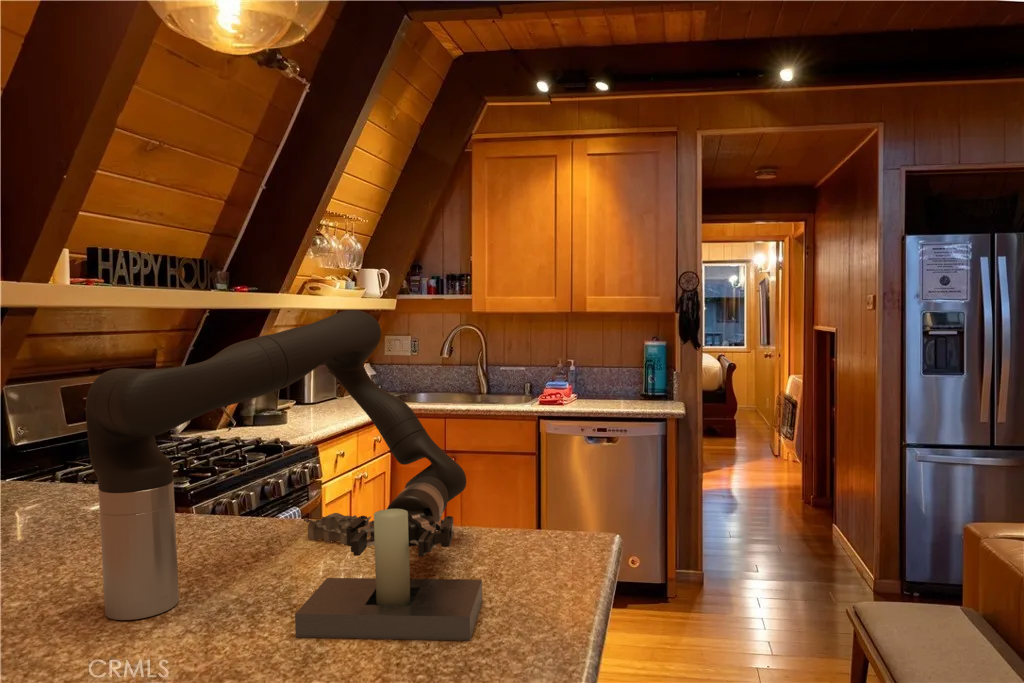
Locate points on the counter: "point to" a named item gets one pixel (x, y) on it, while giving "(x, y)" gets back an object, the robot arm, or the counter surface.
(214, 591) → the counter surface
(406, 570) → the peg
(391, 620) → the brown block with hole
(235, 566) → the counter surface
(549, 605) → the counter surface
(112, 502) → the robot arm
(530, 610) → the counter surface
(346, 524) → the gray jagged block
